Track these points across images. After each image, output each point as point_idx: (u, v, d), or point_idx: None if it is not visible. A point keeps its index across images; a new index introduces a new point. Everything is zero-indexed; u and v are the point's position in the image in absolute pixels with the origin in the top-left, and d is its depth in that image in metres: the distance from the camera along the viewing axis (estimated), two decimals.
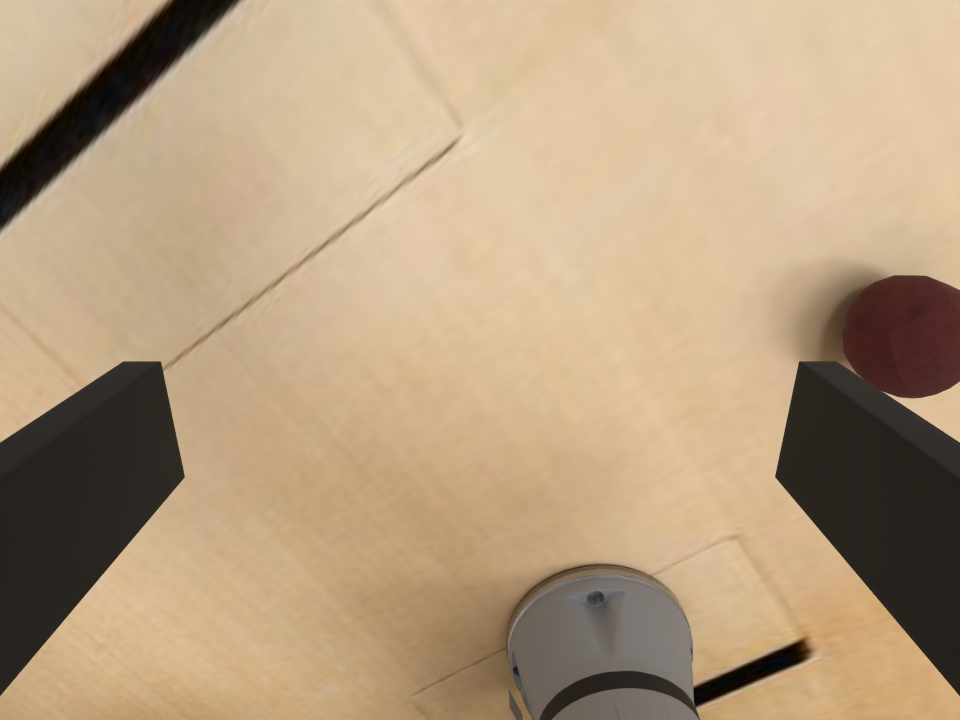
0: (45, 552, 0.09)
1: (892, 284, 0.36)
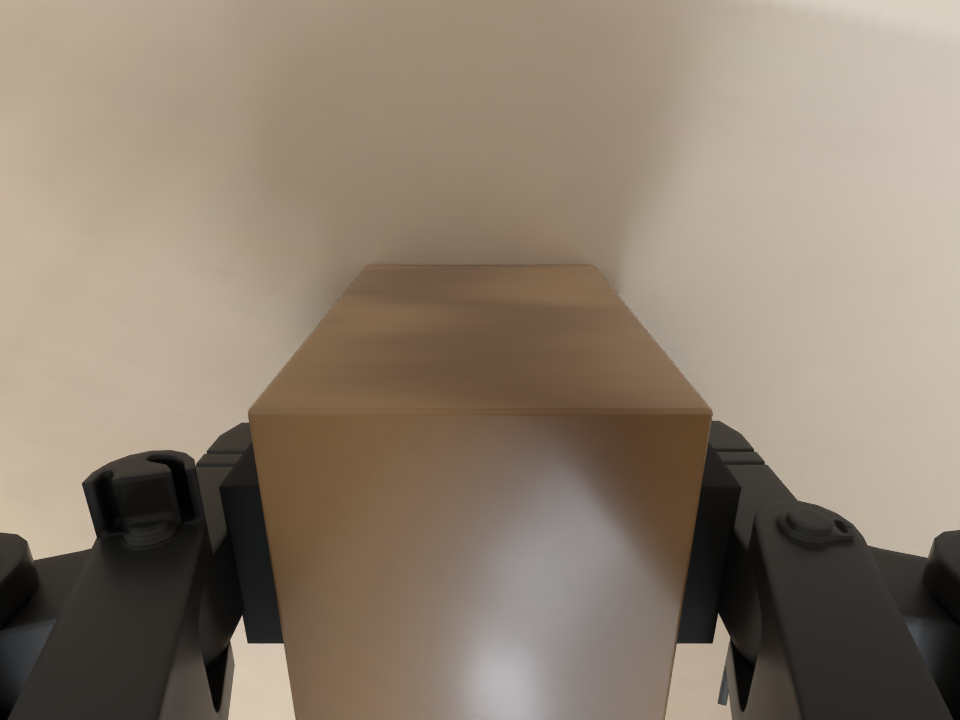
0: None
1: None
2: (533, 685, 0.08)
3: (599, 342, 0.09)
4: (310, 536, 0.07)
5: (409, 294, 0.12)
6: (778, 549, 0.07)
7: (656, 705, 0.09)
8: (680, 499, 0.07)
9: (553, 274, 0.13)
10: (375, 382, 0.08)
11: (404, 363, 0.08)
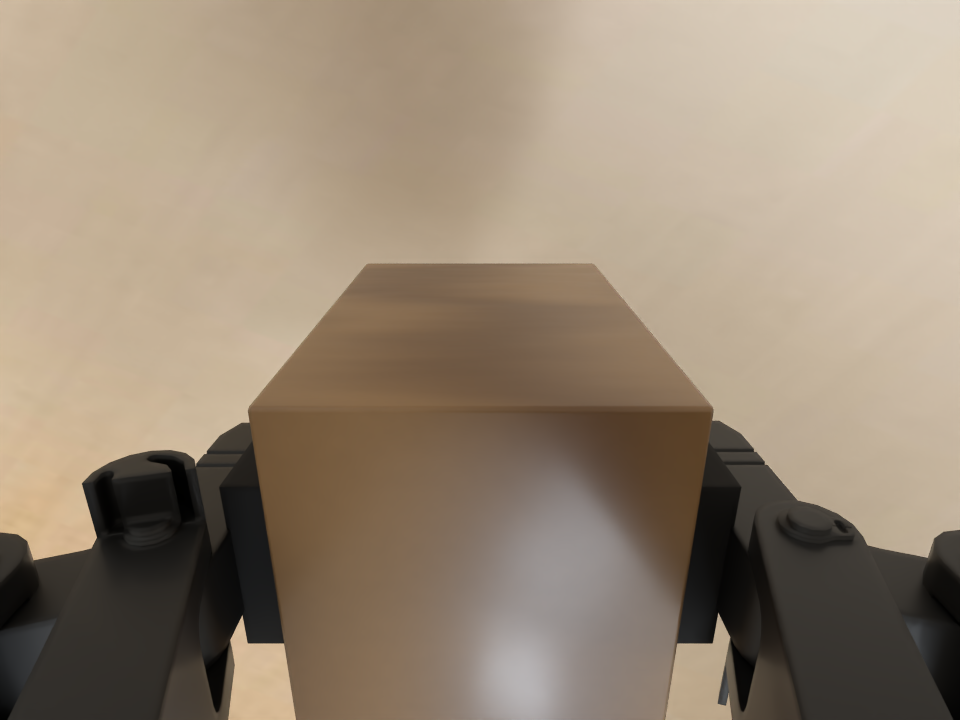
0: None
1: None
2: (533, 683, 0.08)
3: (600, 340, 0.09)
4: (310, 534, 0.07)
5: (409, 292, 0.12)
6: (778, 550, 0.07)
7: (656, 703, 0.09)
8: (680, 498, 0.07)
9: (553, 273, 0.13)
10: (376, 379, 0.08)
11: (403, 361, 0.08)
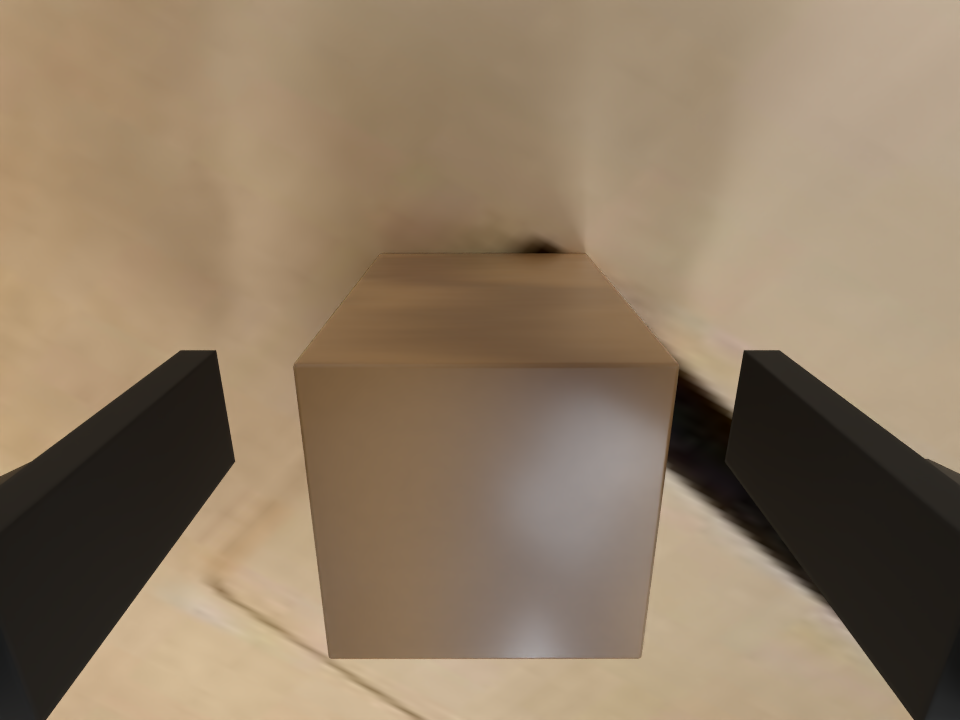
0: (126, 525, 0.09)
1: None
2: (530, 606, 0.10)
3: (588, 314, 0.10)
4: (343, 473, 0.09)
5: (420, 277, 0.13)
6: None
7: (636, 624, 0.10)
8: (653, 441, 0.09)
9: (549, 261, 0.15)
10: (398, 344, 0.09)
11: (420, 330, 0.10)
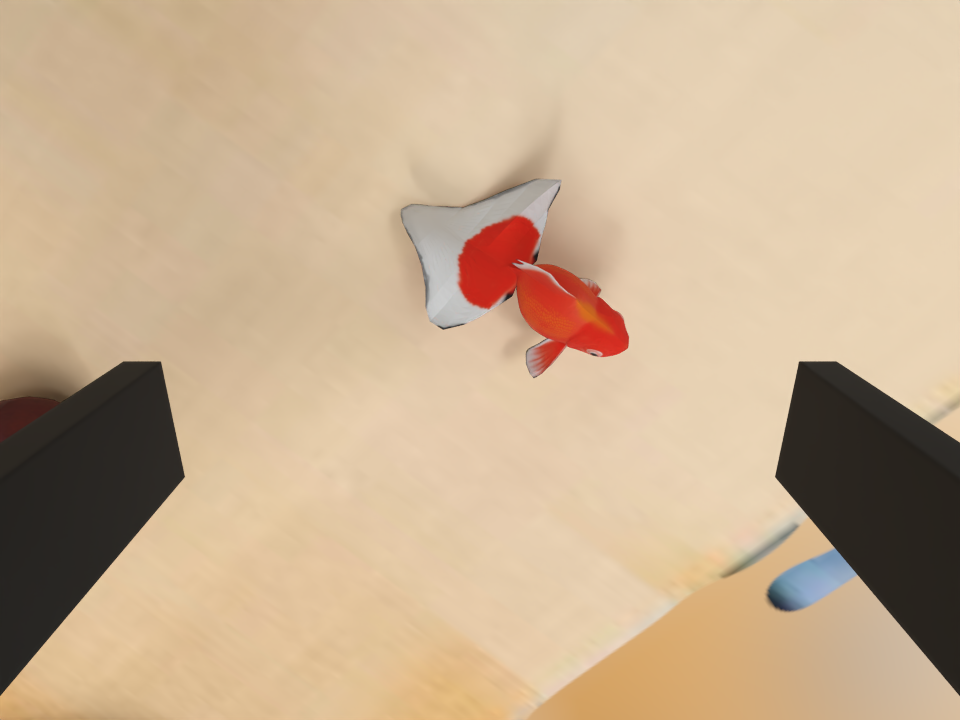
0: (45, 552, 0.09)
1: None
2: None
3: None
4: None
5: None
6: None
7: None
8: None
9: None
10: None
11: None
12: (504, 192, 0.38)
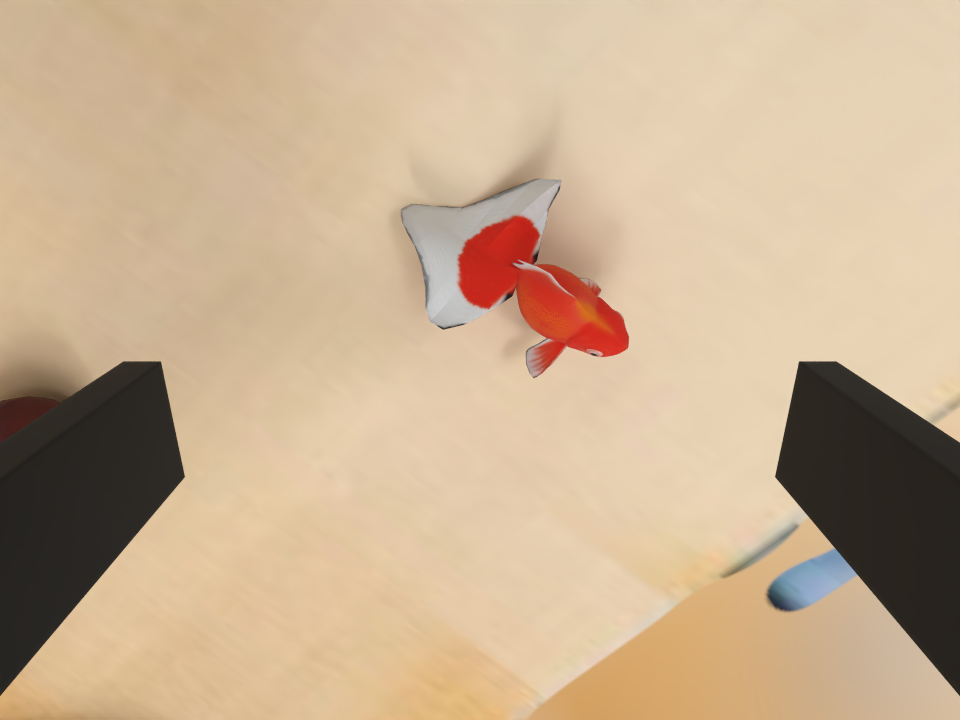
0: (45, 552, 0.09)
1: None
2: None
3: None
4: None
5: None
6: None
7: None
8: None
9: None
10: None
11: None
12: (504, 192, 0.38)
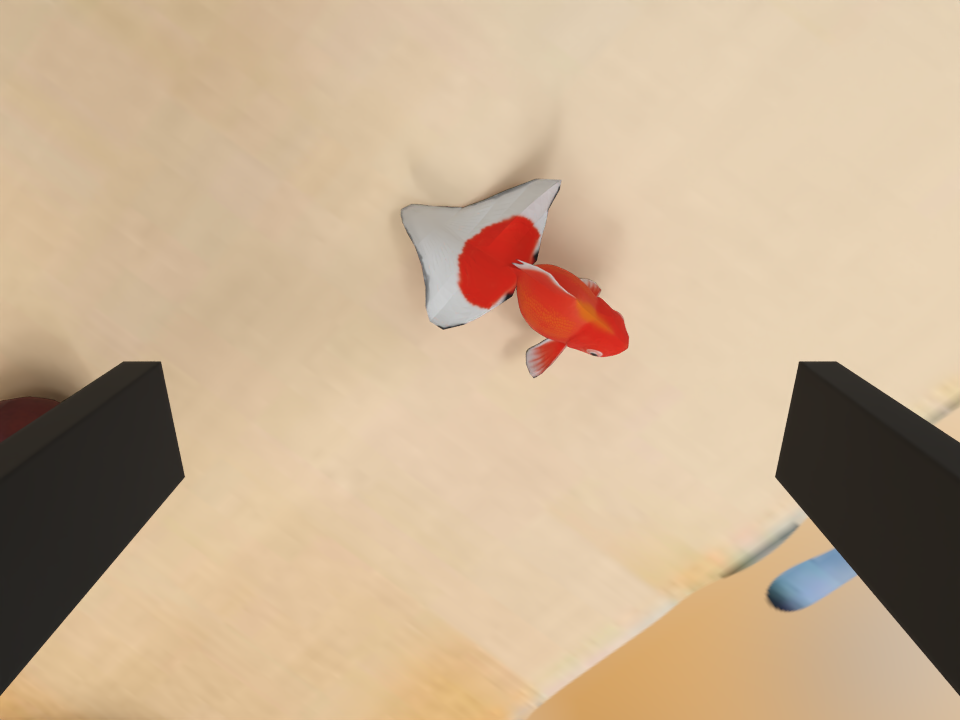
0: (45, 552, 0.09)
1: None
2: None
3: None
4: None
5: None
6: None
7: None
8: None
9: None
10: None
11: None
12: (504, 192, 0.38)
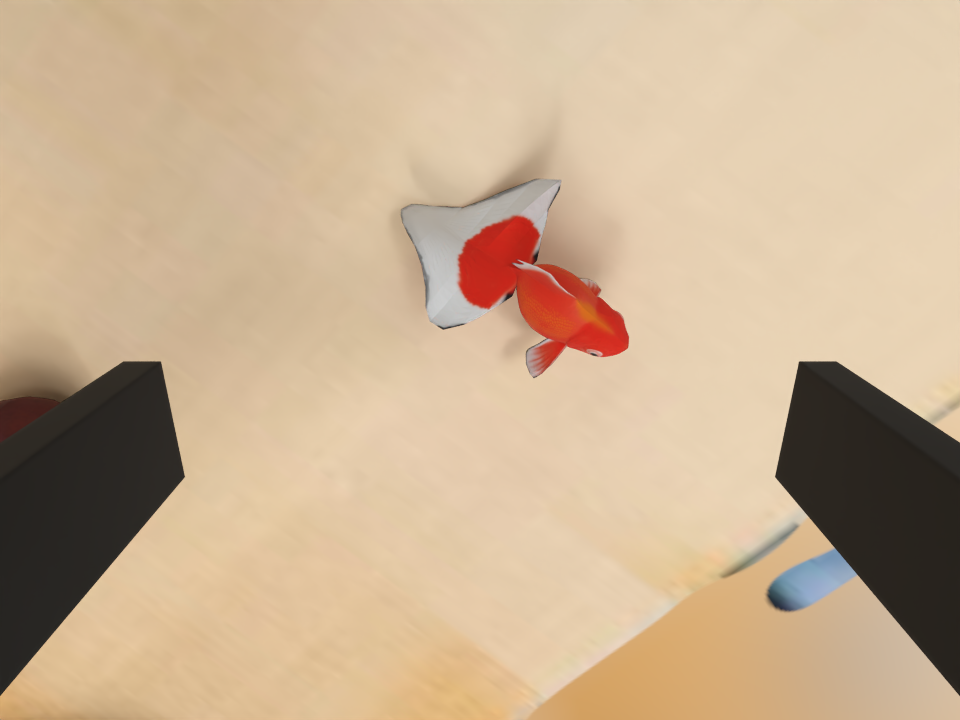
0: (45, 552, 0.09)
1: None
2: None
3: None
4: None
5: None
6: None
7: None
8: None
9: None
10: None
11: None
12: (504, 192, 0.38)
